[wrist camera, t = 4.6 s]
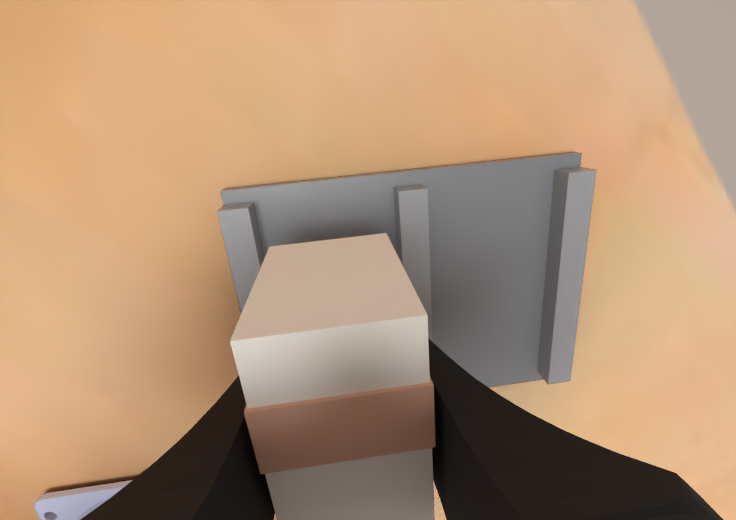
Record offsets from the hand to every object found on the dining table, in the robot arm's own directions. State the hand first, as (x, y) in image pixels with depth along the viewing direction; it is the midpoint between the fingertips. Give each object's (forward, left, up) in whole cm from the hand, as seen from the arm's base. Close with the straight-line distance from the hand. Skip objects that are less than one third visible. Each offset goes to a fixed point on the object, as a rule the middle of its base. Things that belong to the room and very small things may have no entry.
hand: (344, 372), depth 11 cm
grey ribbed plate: (0, -3, -5) cm, 6 cm away
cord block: (0, 0, -2) cm, 2 cm away
